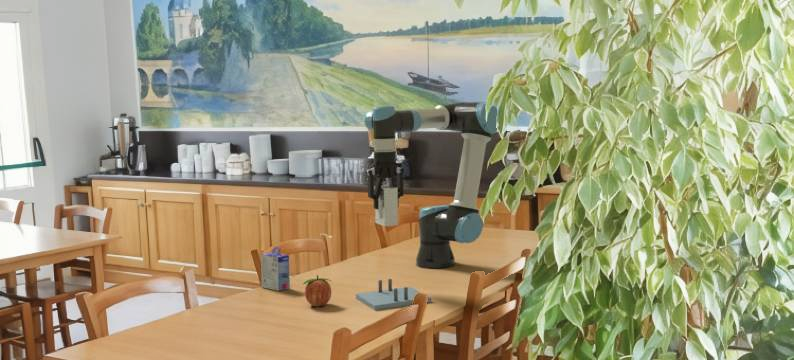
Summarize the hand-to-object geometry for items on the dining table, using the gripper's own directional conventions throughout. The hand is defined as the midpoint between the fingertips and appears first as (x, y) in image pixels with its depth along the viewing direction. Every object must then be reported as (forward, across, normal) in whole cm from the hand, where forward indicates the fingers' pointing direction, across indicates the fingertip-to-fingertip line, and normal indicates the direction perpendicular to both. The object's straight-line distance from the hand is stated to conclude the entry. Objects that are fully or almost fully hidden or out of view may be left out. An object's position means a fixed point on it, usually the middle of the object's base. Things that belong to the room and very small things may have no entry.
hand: (386, 217), depth 293 cm
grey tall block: (+2, 0, 0) cm, 2 cm away
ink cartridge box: (+25, +35, -19) cm, 48 cm away
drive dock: (+25, +5, +16) cm, 30 cm away
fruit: (+25, +29, +11) cm, 40 cm away
